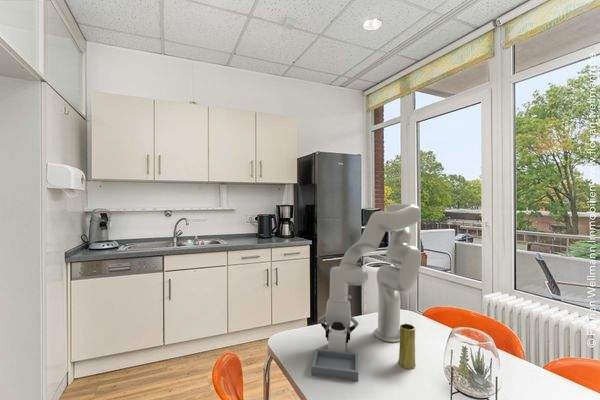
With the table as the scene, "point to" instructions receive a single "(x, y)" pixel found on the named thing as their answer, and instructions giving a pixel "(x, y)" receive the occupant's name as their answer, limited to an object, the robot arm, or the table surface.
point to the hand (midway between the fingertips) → (337, 340)
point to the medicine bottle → (337, 337)
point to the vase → (407, 346)
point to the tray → (335, 364)
